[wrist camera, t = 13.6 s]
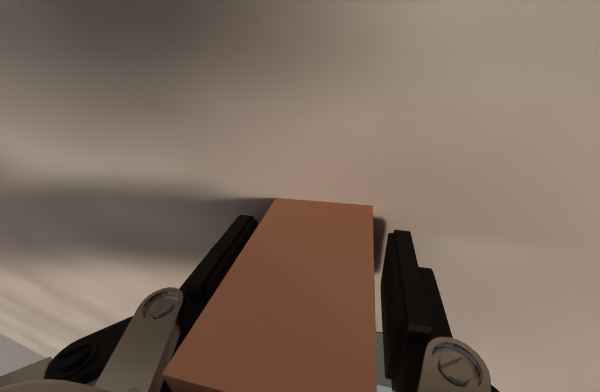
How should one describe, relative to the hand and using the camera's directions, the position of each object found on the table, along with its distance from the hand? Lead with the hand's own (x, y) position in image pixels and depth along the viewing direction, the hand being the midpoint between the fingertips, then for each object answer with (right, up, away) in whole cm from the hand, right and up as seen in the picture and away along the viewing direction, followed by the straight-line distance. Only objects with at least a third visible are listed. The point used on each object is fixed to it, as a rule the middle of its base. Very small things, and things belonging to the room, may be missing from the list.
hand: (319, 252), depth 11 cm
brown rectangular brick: (0, 0, +1) cm, 1 cm away
